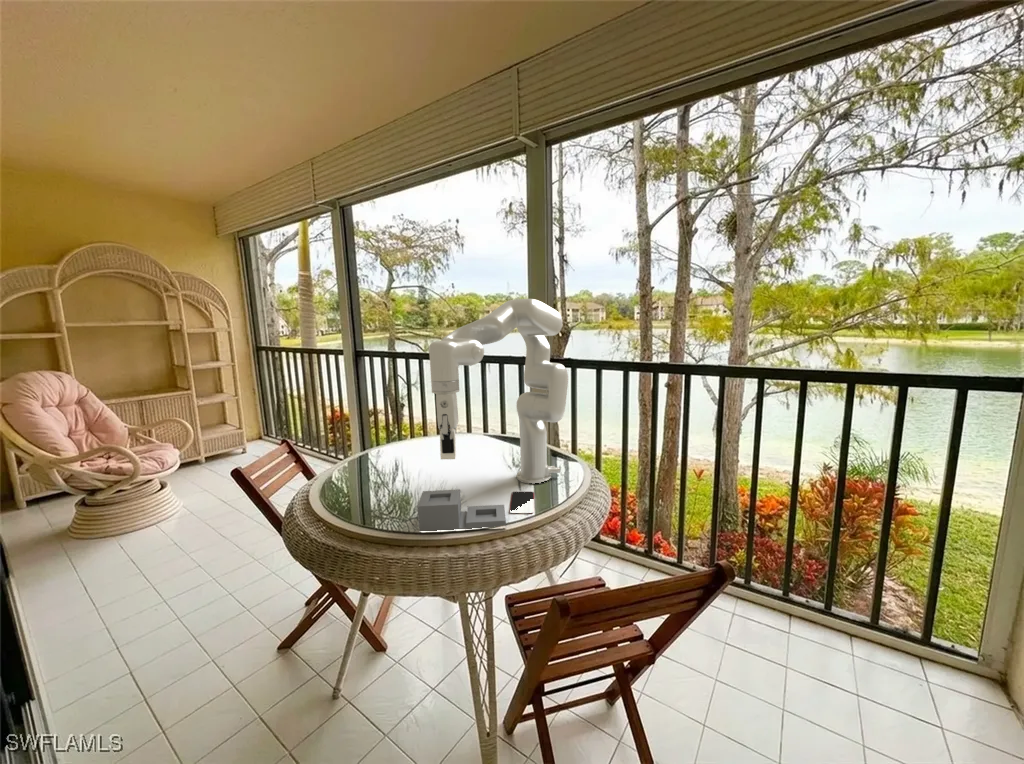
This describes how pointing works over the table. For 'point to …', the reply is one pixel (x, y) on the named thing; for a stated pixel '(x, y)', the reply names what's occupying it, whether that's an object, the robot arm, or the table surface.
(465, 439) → the table surface
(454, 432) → the plug
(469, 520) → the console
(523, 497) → the smartphone
